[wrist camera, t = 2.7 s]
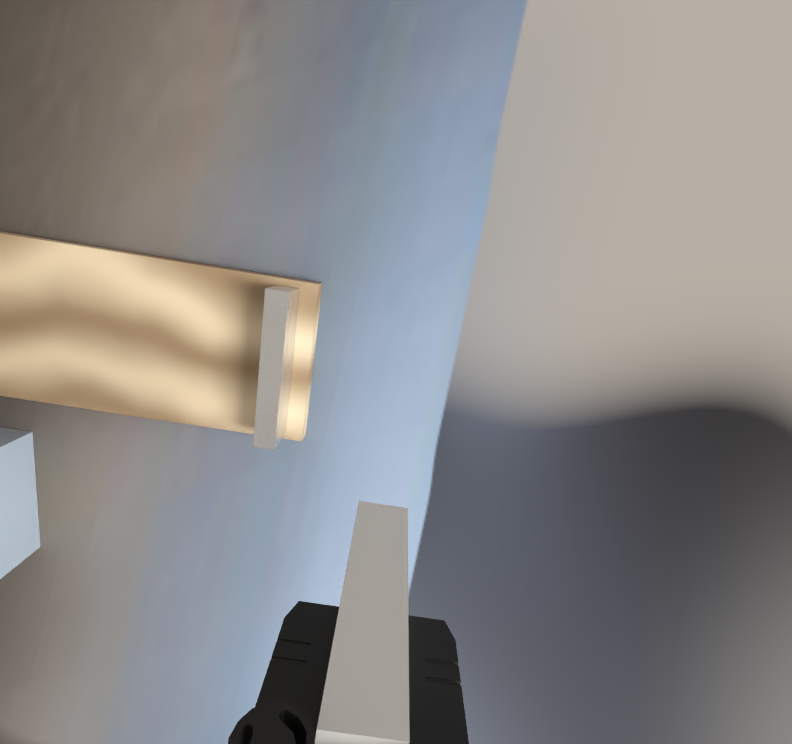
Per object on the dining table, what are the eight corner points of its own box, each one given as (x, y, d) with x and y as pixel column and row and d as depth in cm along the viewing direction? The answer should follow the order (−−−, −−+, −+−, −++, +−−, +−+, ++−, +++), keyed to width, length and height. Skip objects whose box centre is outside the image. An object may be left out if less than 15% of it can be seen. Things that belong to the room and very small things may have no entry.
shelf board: (305, 433, 35) (291, 458, 30) (-36, 381, 34) (-100, 400, 30) (322, 282, 32) (309, 287, 27) (-53, 222, 31) (-128, 217, 27)
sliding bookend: (285, 433, 33) (274, 450, 30) (266, 430, 33) (252, 446, 30) (299, 288, 30) (288, 292, 27) (278, 285, 30) (265, 288, 27)
